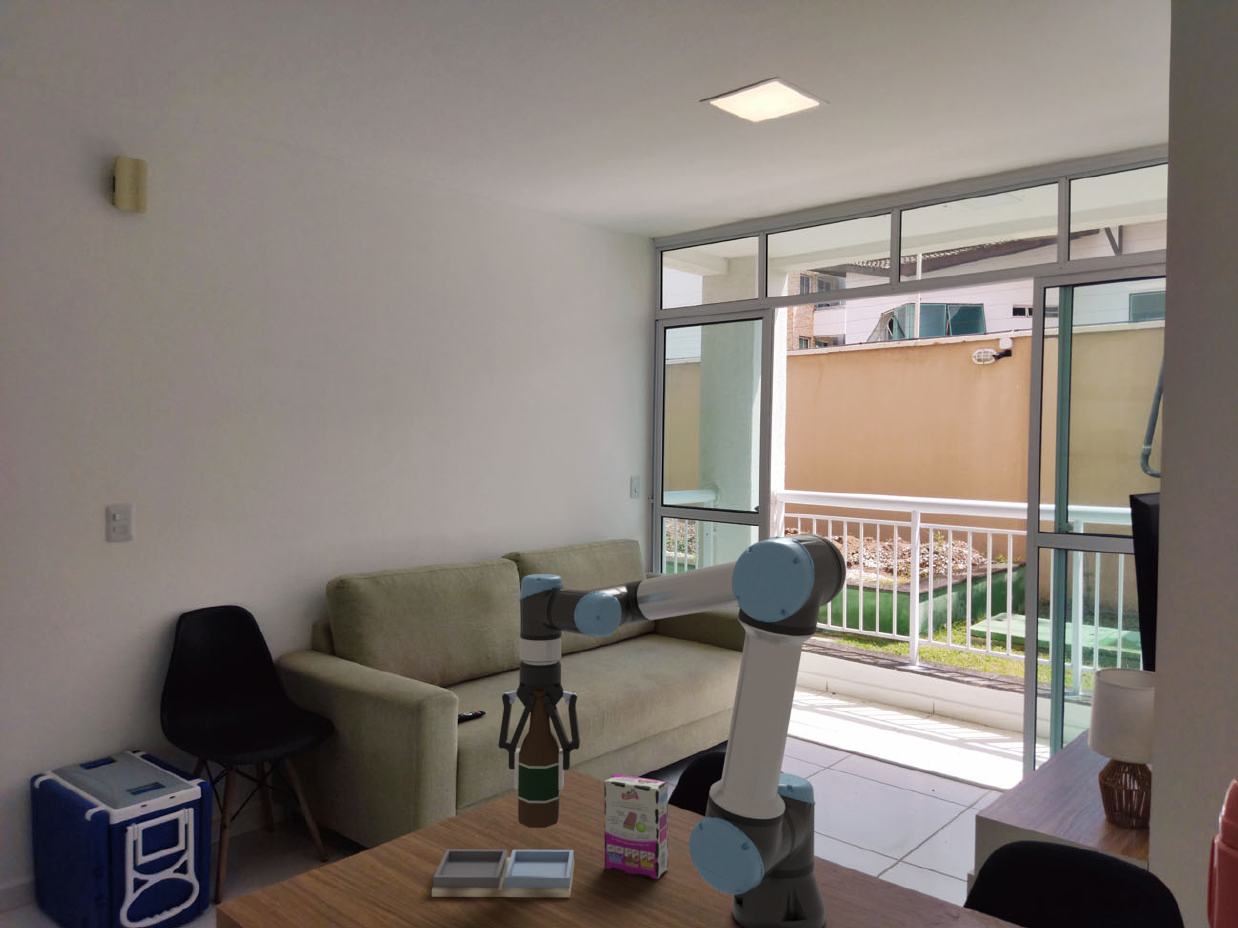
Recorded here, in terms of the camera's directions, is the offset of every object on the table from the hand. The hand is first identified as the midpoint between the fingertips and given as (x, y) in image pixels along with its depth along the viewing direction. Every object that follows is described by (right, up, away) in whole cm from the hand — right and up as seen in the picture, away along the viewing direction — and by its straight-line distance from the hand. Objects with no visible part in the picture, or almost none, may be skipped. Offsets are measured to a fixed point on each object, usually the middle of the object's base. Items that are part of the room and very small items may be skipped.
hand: (539, 786), depth 160 cm
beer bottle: (0, -6, 0) cm, 6 cm away
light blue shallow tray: (0, -15, 0) cm, 15 cm away
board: (-6, -17, 0) cm, 18 cm away
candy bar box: (+18, -17, +4) cm, 25 cm away
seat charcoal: (-12, -15, 0) cm, 20 cm away
